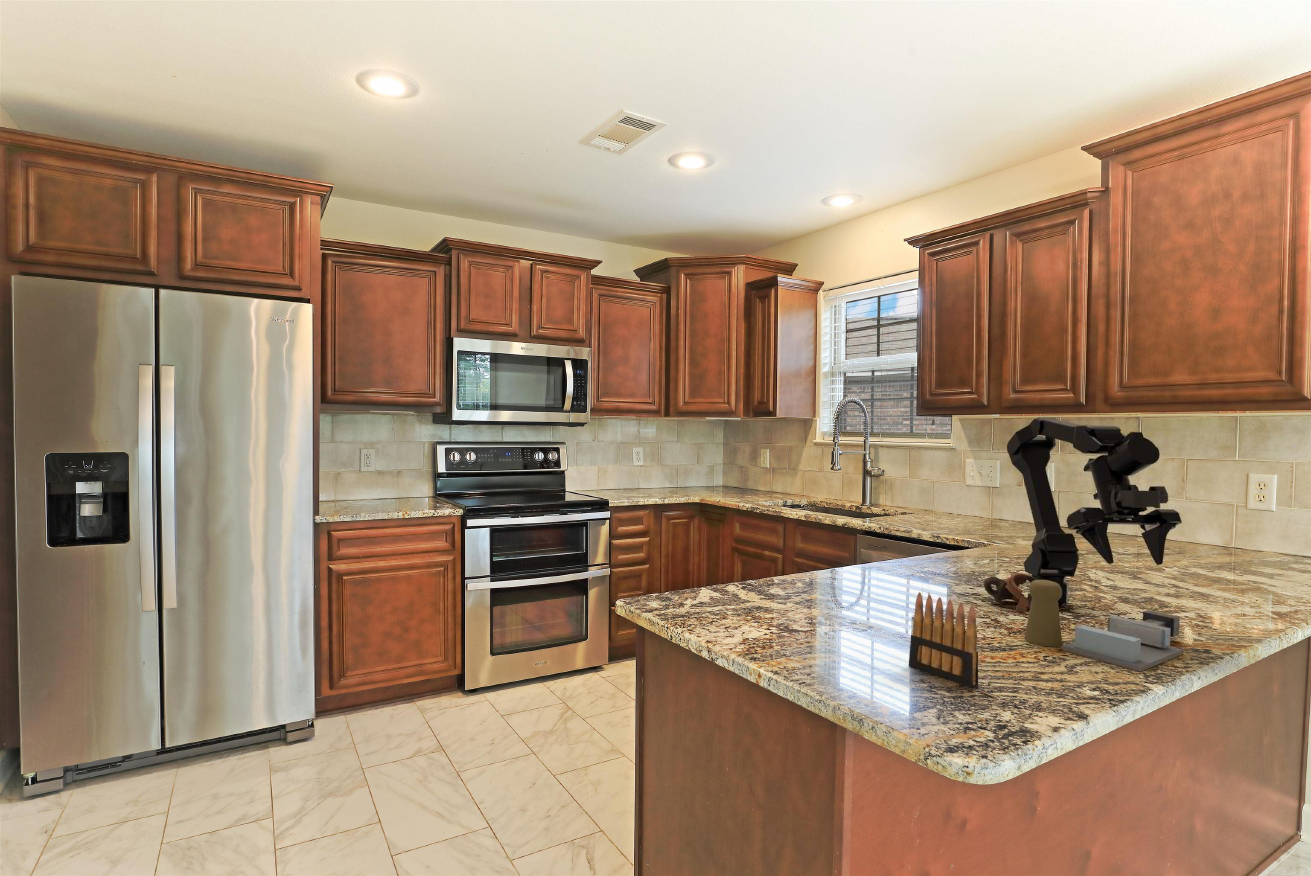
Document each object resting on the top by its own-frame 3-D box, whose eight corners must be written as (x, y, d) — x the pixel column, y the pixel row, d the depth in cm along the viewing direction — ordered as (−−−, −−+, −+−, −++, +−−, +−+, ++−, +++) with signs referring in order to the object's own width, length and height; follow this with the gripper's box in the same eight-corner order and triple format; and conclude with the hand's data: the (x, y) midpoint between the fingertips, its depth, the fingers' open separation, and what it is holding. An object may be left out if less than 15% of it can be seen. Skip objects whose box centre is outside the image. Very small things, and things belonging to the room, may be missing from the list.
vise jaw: (1163, 648, 120) (1164, 629, 120) (1106, 634, 128) (1107, 616, 128) (1191, 637, 127) (1192, 619, 127) (1135, 625, 135) (1136, 607, 135)
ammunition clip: (908, 666, 111) (911, 591, 111) (915, 664, 113) (917, 590, 112) (971, 688, 103) (975, 607, 102) (978, 685, 104) (981, 605, 103)
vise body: (1140, 671, 112) (1141, 645, 112) (1062, 650, 122) (1063, 625, 122) (1200, 646, 126) (1201, 622, 126) (1125, 629, 136) (1126, 607, 136)
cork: (1067, 648, 123) (1070, 585, 123) (1030, 644, 124) (1033, 583, 124) (1055, 637, 129) (1058, 578, 129) (1019, 634, 130) (1022, 576, 130)
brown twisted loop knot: (1034, 604, 155) (1049, 577, 150) (1036, 633, 147) (1052, 605, 143) (977, 586, 158) (990, 558, 154) (976, 613, 151) (990, 585, 146)
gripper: (1090, 467, 128) (1114, 550, 121) (1190, 470, 128) (1218, 553, 122) (1056, 489, 138) (1076, 567, 131) (1148, 491, 138) (1172, 569, 132)
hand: (1135, 564), depth 129 cm, fingers open, 9 cm apart
